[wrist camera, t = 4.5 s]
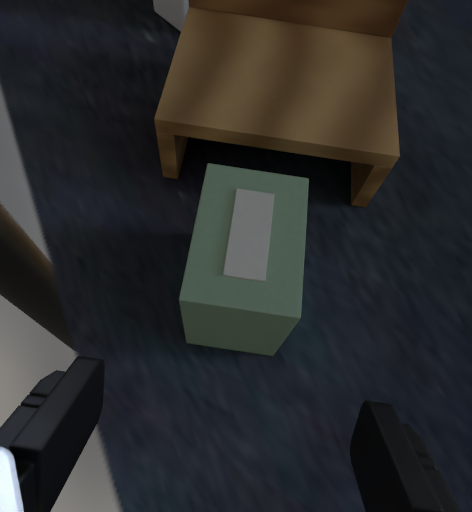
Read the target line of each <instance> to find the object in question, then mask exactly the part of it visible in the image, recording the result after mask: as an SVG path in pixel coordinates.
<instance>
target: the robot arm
mask: <svg viewBox="0 0 472 512" xmlns="http://www.w3.org/2000/svg"><path fill="white" fill-rule="evenodd" d="M104 369H105V363H104V360H101V359H94V358H88V357H81V356H78V357H77V358H76V359H75V360H74V362H73V363H72V364H71V365H70V367H69V368H68V369H67V371H66V372H64V371H57V370H56V371H54V372H53V373H51V374H50V375H48V376H46V377H45V378H43V379H42V380H40V381H39V382H38V384H37V385H36V386H35V387H34V388H33V389H32V391H31V392H30V394H29V395H27V397H26V398H25V399H24V400H23V401H22V402H21V405H20V406H18V407H17V408H16V410H15V411H14V412H13V413H12V414H11V416H10V417H9V418H8V419H7V420H6V422H5V423H4V424H3V425H2V426H1V427H0V512H50V511H51V509H52V507H53V506H54V504H55V502H56V500H57V498H58V496H59V494H60V492H61V490H62V489H63V487H64V485H65V483H66V481H67V479H68V477H69V475H70V473H71V471H72V469H73V468H74V466H75V464H76V462H77V460H78V458H79V456H80V454H81V453H82V451H83V449H84V447H85V445H86V443H87V441H88V439H89V437H90V435H91V434H92V432H93V430H94V428H95V426H96V424H97V422H98V420H99V417H100V414H101V410H102V405H103V391H104ZM350 457H351V463H352V466H353V470H354V473H355V477H356V480H357V484H358V487H359V490H360V494H361V497H362V501H363V504H364V508H365V511H366V512H461V510H460V508H459V506H458V504H457V502H456V500H455V499H454V497H453V495H452V493H451V491H450V489H449V488H448V486H447V484H446V482H445V480H444V478H443V476H442V475H441V473H440V471H439V470H437V465H436V463H435V462H434V460H433V458H432V457H430V452H429V451H428V449H427V447H426V445H425V443H424V441H423V439H422V438H421V437H420V436H419V435H418V434H417V433H416V432H415V431H414V430H413V429H412V428H411V427H410V426H409V425H408V424H402V423H401V422H400V420H399V418H398V416H397V414H396V412H395V410H394V408H393V406H392V405H391V404H386V403H380V402H373V401H367V400H366V401H364V402H363V404H362V406H361V409H360V412H359V416H358V419H357V422H356V426H355V429H354V432H353V436H352V439H351V444H350Z"/></svg>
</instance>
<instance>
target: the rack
mask: <svg viewBox="0 0 472 512" xmlns="http://www.w3.org/2000/svg"><path fill="white" fill-rule="evenodd" d="M407 2H408V0H189V8H188V11H187V15H186V18H185V21H184V24H183V27H182V31H181V34H180V37H179V40H178V44H177V47H176V50H175V53H174V57H173V60H172V63H171V66H170V69H169V73H168V76H167V79H166V82H165V86H164V89H163V92H162V95H161V99H160V102H159V105H158V108H157V112H156V115H155V118H154V121H155V127H156V133H157V140H158V147H159V153H160V160H161V166H162V173H163V177H167V178H174V179H178V177H179V173H180V169H181V165H182V161H183V157H184V153H185V149H186V145H187V141H188V137H192V138H198V139H205V140H212V141H218V142H225V143H231V144H238V145H244V146H251V147H258V148H264V149H271V150H277V151H284V152H290V153H297V154H304V155H310V156H317V157H323V158H330V159H336V160H343V161H350V162H351V205H352V206H359V207H366V206H367V205H368V203H369V202H370V200H371V199H372V197H373V196H374V194H375V193H376V191H377V190H378V188H379V187H380V185H381V184H382V182H383V181H384V179H385V178H386V176H387V175H388V173H389V172H390V170H391V168H392V167H393V166H394V164H395V163H396V161H397V160H398V158H399V157H400V152H399V139H398V125H397V112H396V99H395V85H394V72H393V59H392V45H391V37H392V35H393V32H394V30H395V28H396V26H397V24H398V21H399V19H400V17H401V15H402V13H403V10H404V8H405V6H406V4H407Z"/></svg>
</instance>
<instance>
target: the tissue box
mask: <svg viewBox="0 0 472 512" xmlns="http://www.w3.org/2000/svg"><path fill="white" fill-rule="evenodd" d="M308 186H309V179H308V178H302V177H296V176H289V175H283V174H276V173H269V172H263V171H256V170H250V169H243V168H236V167H230V166H223V165H217V164H210V163H208V164H207V168H206V173H205V178H204V182H203V187H202V192H201V197H200V201H199V206H198V211H197V216H196V220H195V225H194V230H193V235H192V239H191V244H190V249H189V254H188V258H187V263H186V268H185V273H184V278H183V282H182V287H181V292H180V297H179V303H180V309H181V315H182V320H183V326H184V332H185V338H186V343H189V344H196V345H203V346H209V347H216V348H223V349H229V350H236V351H243V352H250V353H256V354H263V355H270V356H273V355H274V354H275V353H276V351H277V350H278V348H279V347H280V346H281V344H282V343H283V342H284V340H285V339H286V337H287V336H288V335H289V333H290V332H291V331H292V329H293V328H294V326H295V325H296V324H297V322H298V321H299V320H300V318H301V305H302V288H303V271H304V254H305V237H306V220H307V203H308Z"/></svg>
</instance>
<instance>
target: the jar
mask: <svg viewBox="0 0 472 512" xmlns="http://www.w3.org/2000/svg"><path fill="white" fill-rule="evenodd" d="M153 5H154V11H155V12H156V13H157V14H158V15H160V16H161V17H162V18H164V19H165V20H166V21H167V22H169V23H170V24H171V25H173V26H174V27H175V28H176V29H178V30H179V31H180V32H181V31H182V27H183V24H184V21H185V18H186V15H187V11H188V8H189V0H153Z"/></svg>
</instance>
